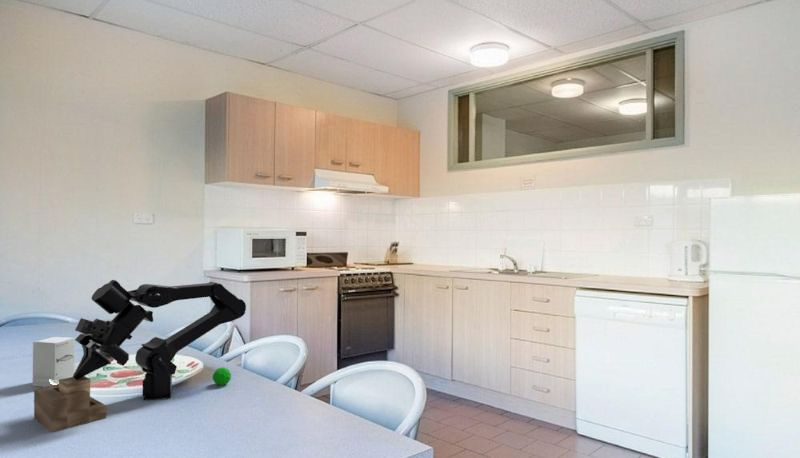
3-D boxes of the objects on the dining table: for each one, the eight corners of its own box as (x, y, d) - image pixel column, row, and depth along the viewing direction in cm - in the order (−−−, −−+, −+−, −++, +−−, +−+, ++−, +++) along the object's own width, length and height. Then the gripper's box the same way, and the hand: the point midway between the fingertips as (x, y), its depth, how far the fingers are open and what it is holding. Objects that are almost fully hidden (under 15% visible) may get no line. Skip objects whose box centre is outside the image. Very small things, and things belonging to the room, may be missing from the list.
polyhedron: (208, 386, 150) (209, 369, 150) (220, 381, 155) (220, 365, 155) (223, 388, 148) (223, 371, 148) (234, 383, 153) (234, 367, 153)
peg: (82, 403, 129) (82, 375, 129) (90, 408, 126) (90, 379, 126) (58, 409, 125) (58, 379, 125) (66, 414, 122) (66, 384, 122)
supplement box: (53, 388, 147) (54, 343, 146) (31, 386, 148) (31, 341, 148) (75, 380, 154) (75, 337, 154) (53, 378, 155) (54, 336, 155)
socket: (86, 406, 133) (86, 378, 133) (105, 417, 125) (106, 388, 125) (34, 418, 124) (34, 389, 124) (52, 432, 116) (52, 400, 116)
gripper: (84, 301, 135) (33, 352, 127) (115, 310, 123) (62, 366, 115) (116, 327, 141) (70, 377, 133) (148, 337, 129) (100, 393, 121)
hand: (74, 378), depth 125 cm, fingers closed, pressing on peg
